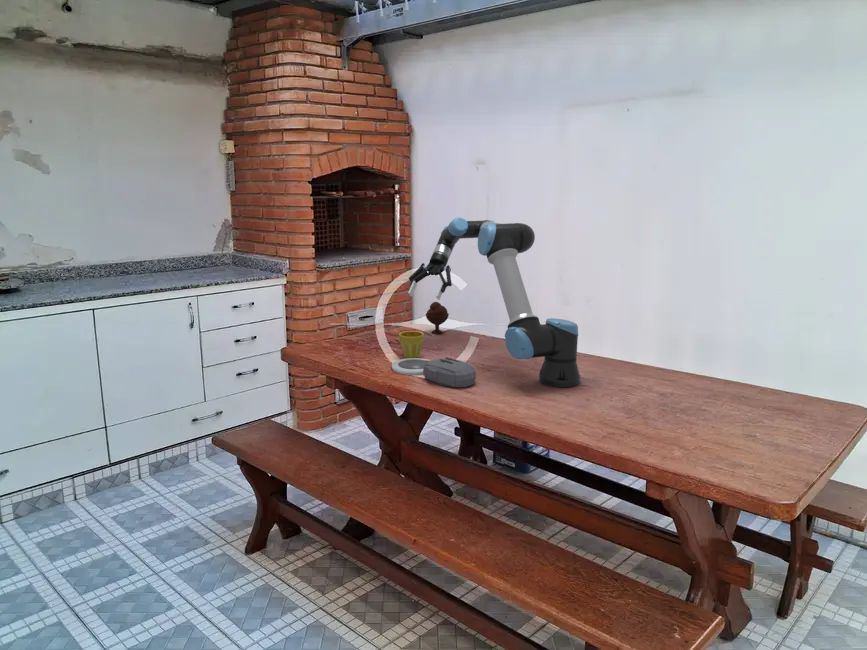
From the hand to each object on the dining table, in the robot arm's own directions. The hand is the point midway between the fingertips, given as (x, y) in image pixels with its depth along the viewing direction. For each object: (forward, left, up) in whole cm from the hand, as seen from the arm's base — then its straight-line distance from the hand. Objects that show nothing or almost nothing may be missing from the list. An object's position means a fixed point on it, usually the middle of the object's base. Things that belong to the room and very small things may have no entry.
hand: (423, 296), depth 279 cm
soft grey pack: (-39, +20, -24) cm, 50 cm away
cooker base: (-18, +20, -24) cm, 36 cm away
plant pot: (-4, +10, -24) cm, 26 cm away
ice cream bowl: (+19, -25, -24) cm, 39 cm away
